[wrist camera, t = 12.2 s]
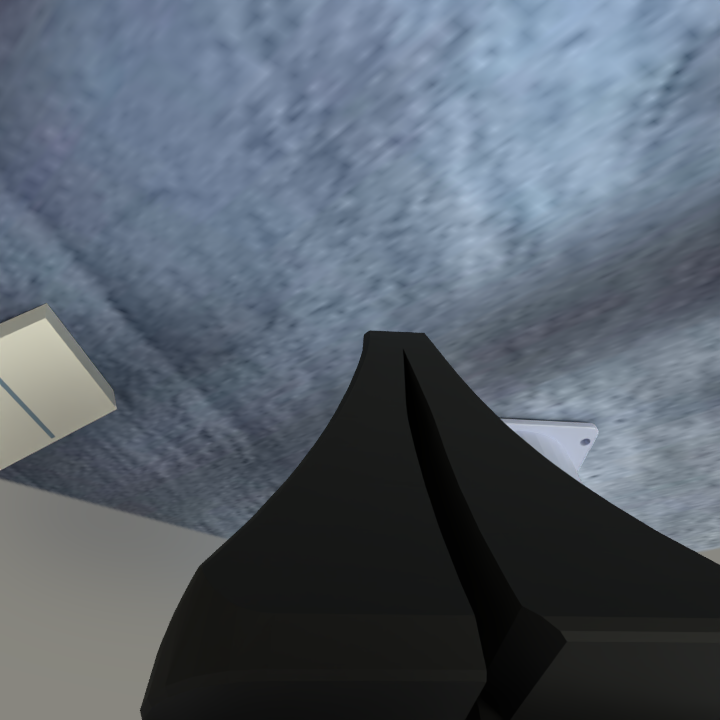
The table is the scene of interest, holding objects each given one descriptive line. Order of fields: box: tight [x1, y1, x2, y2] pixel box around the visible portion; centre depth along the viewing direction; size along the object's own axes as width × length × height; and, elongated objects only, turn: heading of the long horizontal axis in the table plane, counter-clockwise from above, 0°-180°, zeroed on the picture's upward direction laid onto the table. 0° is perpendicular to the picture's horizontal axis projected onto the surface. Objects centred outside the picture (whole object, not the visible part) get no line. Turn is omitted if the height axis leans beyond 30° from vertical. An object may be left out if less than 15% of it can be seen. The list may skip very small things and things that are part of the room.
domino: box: [0, 303, 117, 470], centre depth 19 cm, size 5×2×5 cm
